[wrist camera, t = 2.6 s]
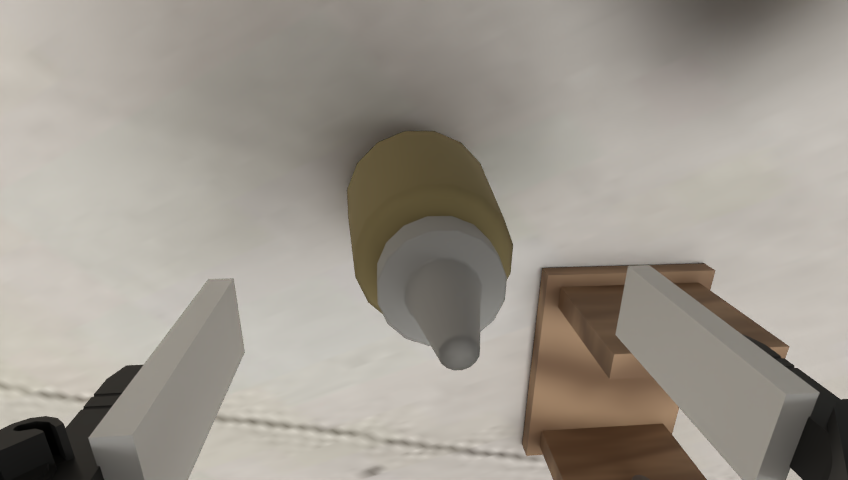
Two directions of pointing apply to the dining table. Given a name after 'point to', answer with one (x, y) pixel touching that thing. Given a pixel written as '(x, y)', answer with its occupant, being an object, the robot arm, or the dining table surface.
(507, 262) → the squeeze bottle
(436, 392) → the dining table surface
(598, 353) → the holder
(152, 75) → the dining table surface
